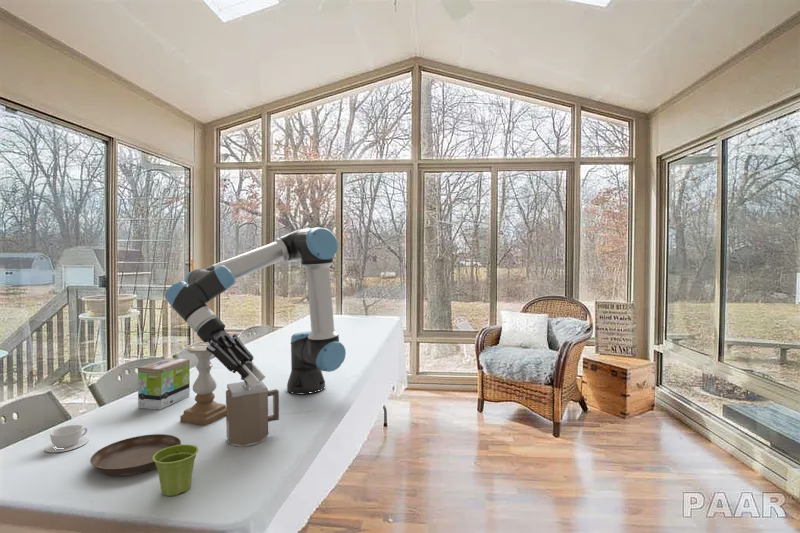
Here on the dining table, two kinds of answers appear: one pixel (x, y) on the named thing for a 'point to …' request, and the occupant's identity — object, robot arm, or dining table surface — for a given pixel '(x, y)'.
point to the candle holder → (203, 392)
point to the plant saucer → (131, 454)
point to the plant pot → (175, 468)
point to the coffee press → (249, 413)
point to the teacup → (67, 438)
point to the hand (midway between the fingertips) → (258, 382)
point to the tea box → (163, 383)
